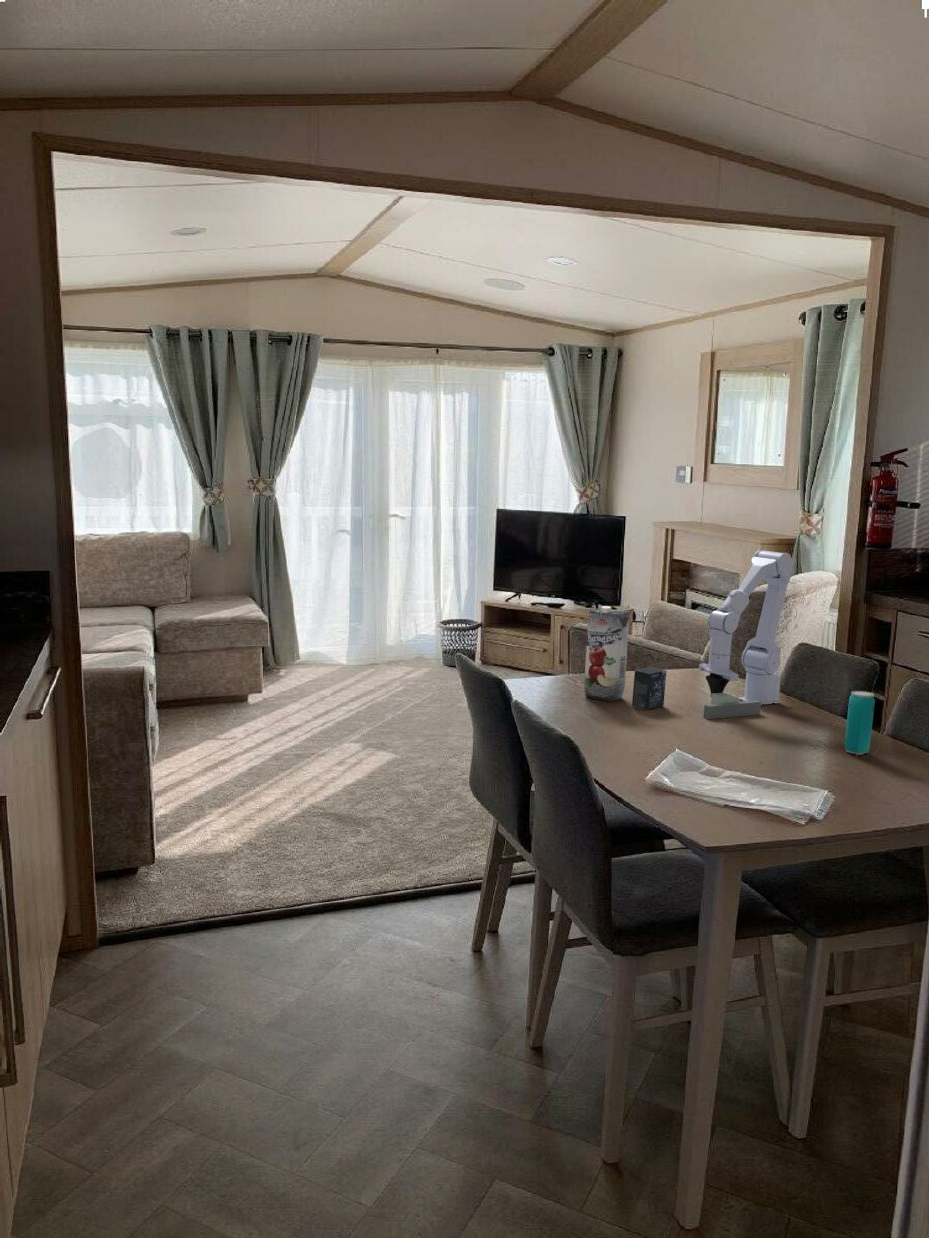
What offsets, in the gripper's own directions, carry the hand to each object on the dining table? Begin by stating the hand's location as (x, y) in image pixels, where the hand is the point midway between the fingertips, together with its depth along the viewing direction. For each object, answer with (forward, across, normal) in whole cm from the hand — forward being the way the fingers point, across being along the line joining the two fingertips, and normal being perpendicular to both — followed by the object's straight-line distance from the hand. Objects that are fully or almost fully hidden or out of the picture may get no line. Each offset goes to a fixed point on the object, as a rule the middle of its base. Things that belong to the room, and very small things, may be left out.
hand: (715, 700), depth 278 cm
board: (+2, +7, 0) cm, 7 cm away
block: (+2, +4, 0) cm, 4 cm away
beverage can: (+3, +45, +7) cm, 45 cm away
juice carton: (+3, -20, -24) cm, 32 cm away
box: (+3, -8, -17) cm, 19 cm away
